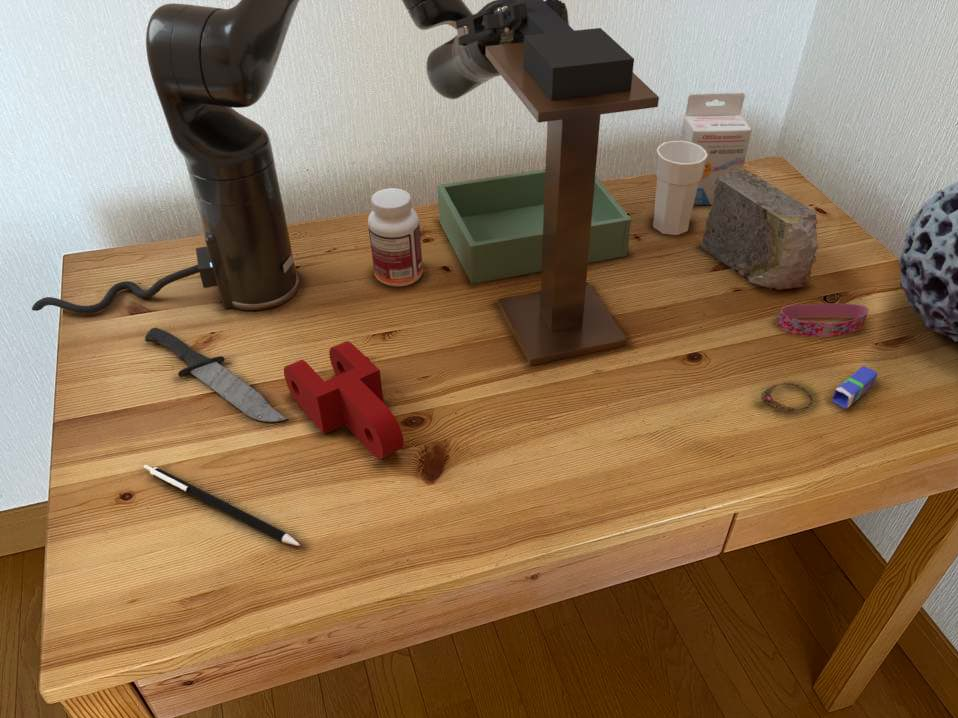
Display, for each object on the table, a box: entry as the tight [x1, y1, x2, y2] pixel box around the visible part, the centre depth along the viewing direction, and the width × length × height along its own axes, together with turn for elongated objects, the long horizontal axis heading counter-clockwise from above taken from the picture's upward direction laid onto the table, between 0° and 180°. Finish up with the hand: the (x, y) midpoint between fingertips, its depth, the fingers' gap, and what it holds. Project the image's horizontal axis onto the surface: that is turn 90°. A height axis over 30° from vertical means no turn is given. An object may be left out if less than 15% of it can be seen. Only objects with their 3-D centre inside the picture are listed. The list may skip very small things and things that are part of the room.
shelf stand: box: [486, 42, 660, 367], centre depth 94 cm, size 12×16×30 cm
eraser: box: [832, 365, 878, 410], centre depth 95 cm, size 2×6×2 cm
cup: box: [652, 140, 708, 236], centre depth 117 cm, size 7×7×11 cm
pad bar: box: [503, 0, 635, 100], centre depth 86 cm, size 8×22×3 cm, turn 20°
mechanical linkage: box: [283, 340, 405, 460], centre depth 88 cm, size 16×7×5 cm, turn 39°
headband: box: [776, 303, 870, 338], centre depth 104 cm, size 11×4×2 cm, turn 94°
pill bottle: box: [367, 187, 424, 287], centre depth 106 cm, size 6×6×11 cm
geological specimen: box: [699, 168, 819, 291], centre depth 110 cm, size 11×6×15 cm
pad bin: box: [437, 168, 632, 285], centre depth 115 cm, size 22×16×6 cm
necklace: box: [760, 383, 813, 412], centre depth 94 cm, size 4×6×1 cm, turn 110°
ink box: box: [679, 92, 752, 206], centre depth 121 cm, size 8×5×15 cm, turn 98°
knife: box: [144, 327, 288, 423], centre depth 94 cm, size 22×1×5 cm
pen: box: [142, 464, 301, 547], centre depth 81 cm, size 1×19×1 cm
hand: (540, 9), depth 88 cm, fingers closed on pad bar, 3 cm apart
